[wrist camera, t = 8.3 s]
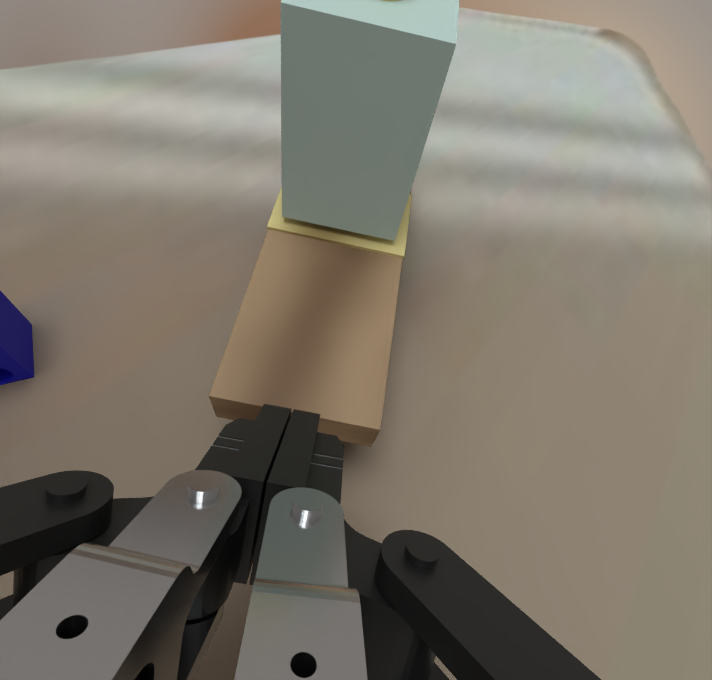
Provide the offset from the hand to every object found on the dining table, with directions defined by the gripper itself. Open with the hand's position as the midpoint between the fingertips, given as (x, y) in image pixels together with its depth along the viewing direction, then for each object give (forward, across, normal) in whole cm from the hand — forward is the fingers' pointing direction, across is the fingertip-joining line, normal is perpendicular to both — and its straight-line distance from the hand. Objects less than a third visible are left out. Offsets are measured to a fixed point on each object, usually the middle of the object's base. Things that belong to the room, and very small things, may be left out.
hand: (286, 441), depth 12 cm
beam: (+15, 0, -2) cm, 15 cm away
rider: (+11, 0, -7) cm, 13 cm away
